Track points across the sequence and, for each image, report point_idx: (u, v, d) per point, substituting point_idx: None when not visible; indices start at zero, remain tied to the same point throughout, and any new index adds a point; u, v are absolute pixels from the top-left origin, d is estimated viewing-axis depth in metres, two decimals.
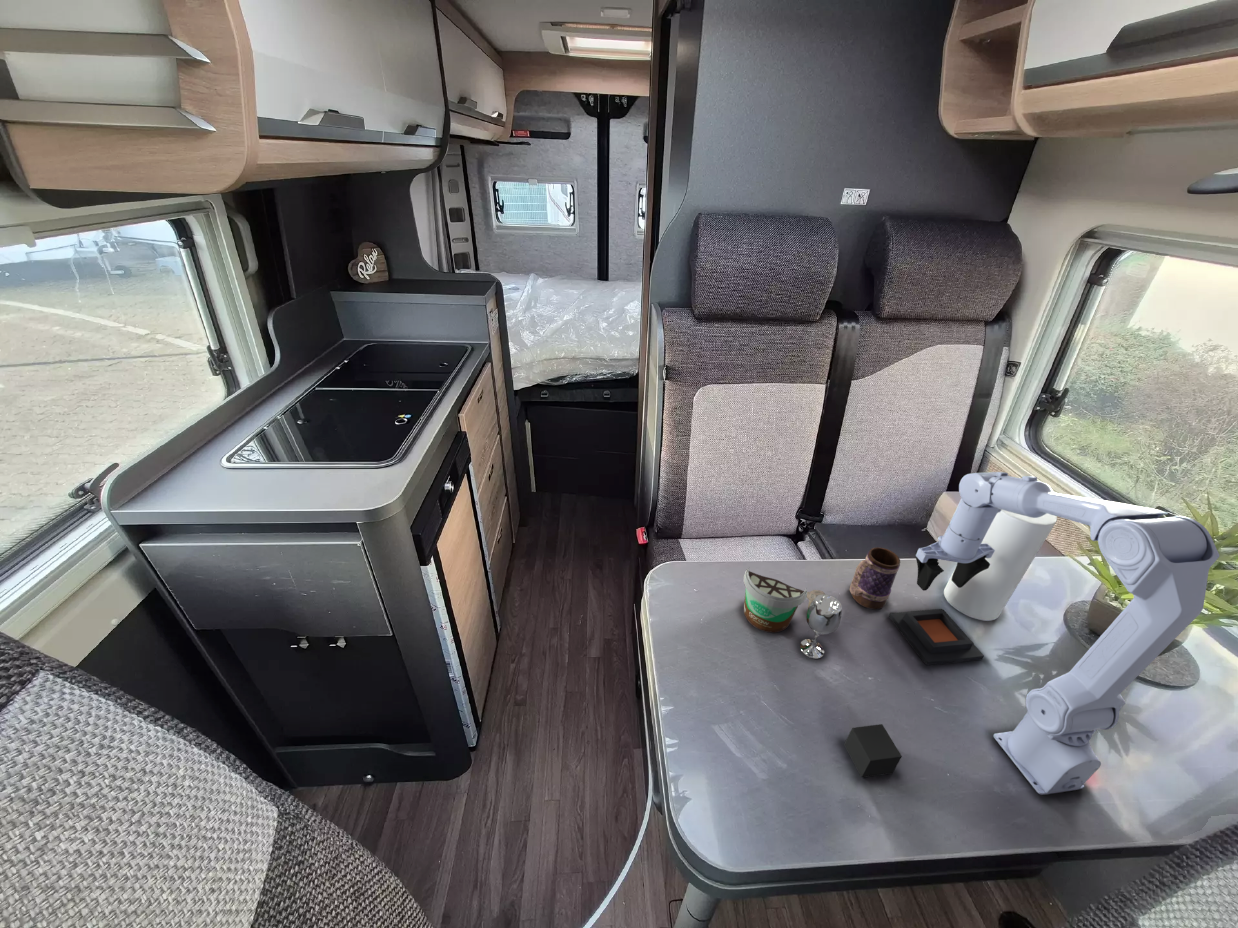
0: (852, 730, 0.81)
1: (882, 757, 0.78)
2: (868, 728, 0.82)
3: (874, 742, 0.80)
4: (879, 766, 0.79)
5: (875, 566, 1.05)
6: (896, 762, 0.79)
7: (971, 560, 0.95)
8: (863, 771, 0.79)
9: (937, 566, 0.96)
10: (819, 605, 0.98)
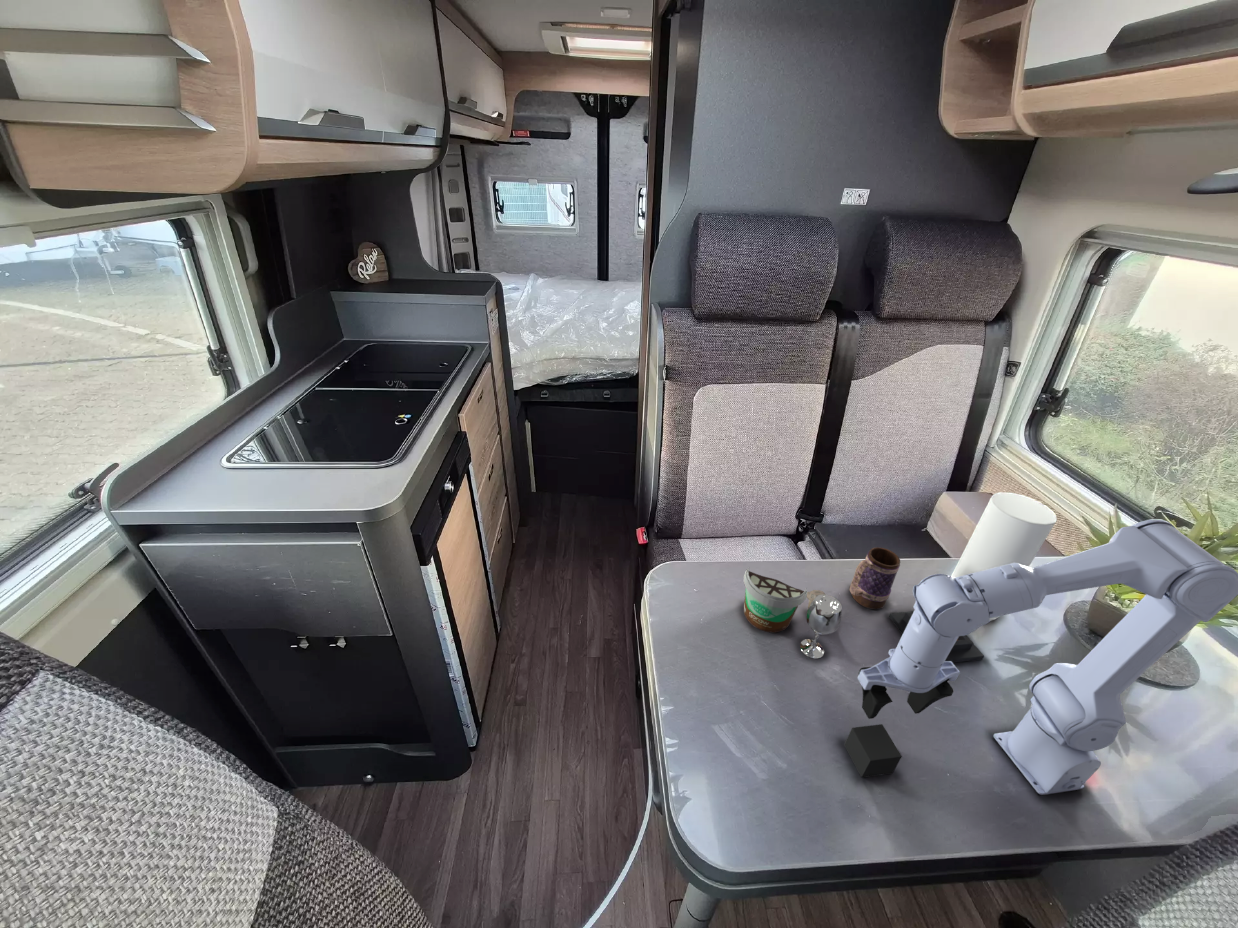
0: (852, 730, 0.81)
1: (882, 757, 0.78)
2: (868, 728, 0.82)
3: (874, 742, 0.80)
4: (879, 766, 0.79)
5: (875, 566, 1.05)
6: (896, 762, 0.79)
7: (928, 689, 0.73)
8: (863, 771, 0.79)
9: (884, 694, 0.74)
10: (819, 605, 0.98)
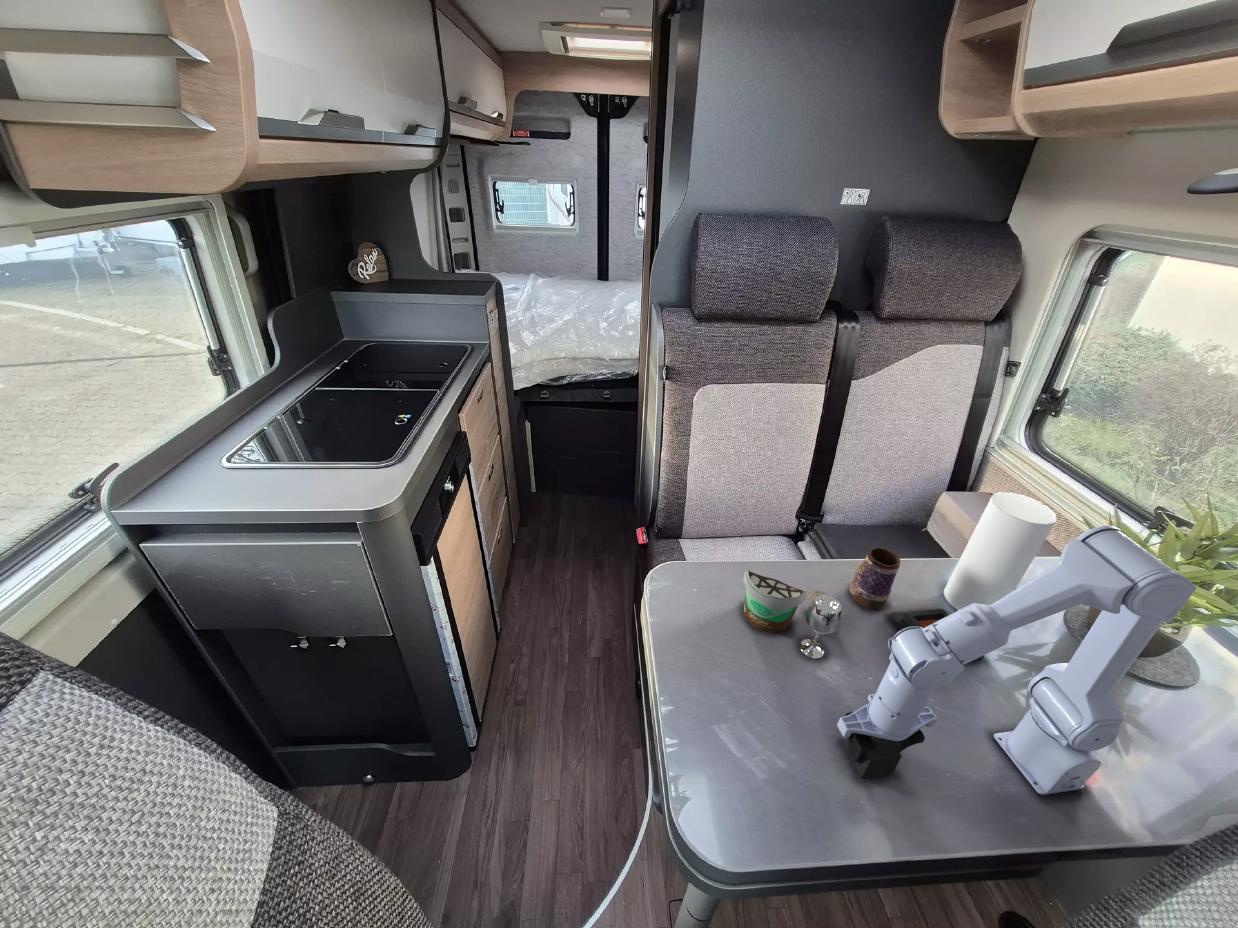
0: None
1: (882, 757, 0.78)
2: None
3: None
4: (879, 767, 0.79)
5: (875, 566, 1.05)
6: (896, 762, 0.79)
7: (905, 737, 0.74)
8: (863, 771, 0.79)
9: (869, 741, 0.76)
10: (819, 605, 0.98)
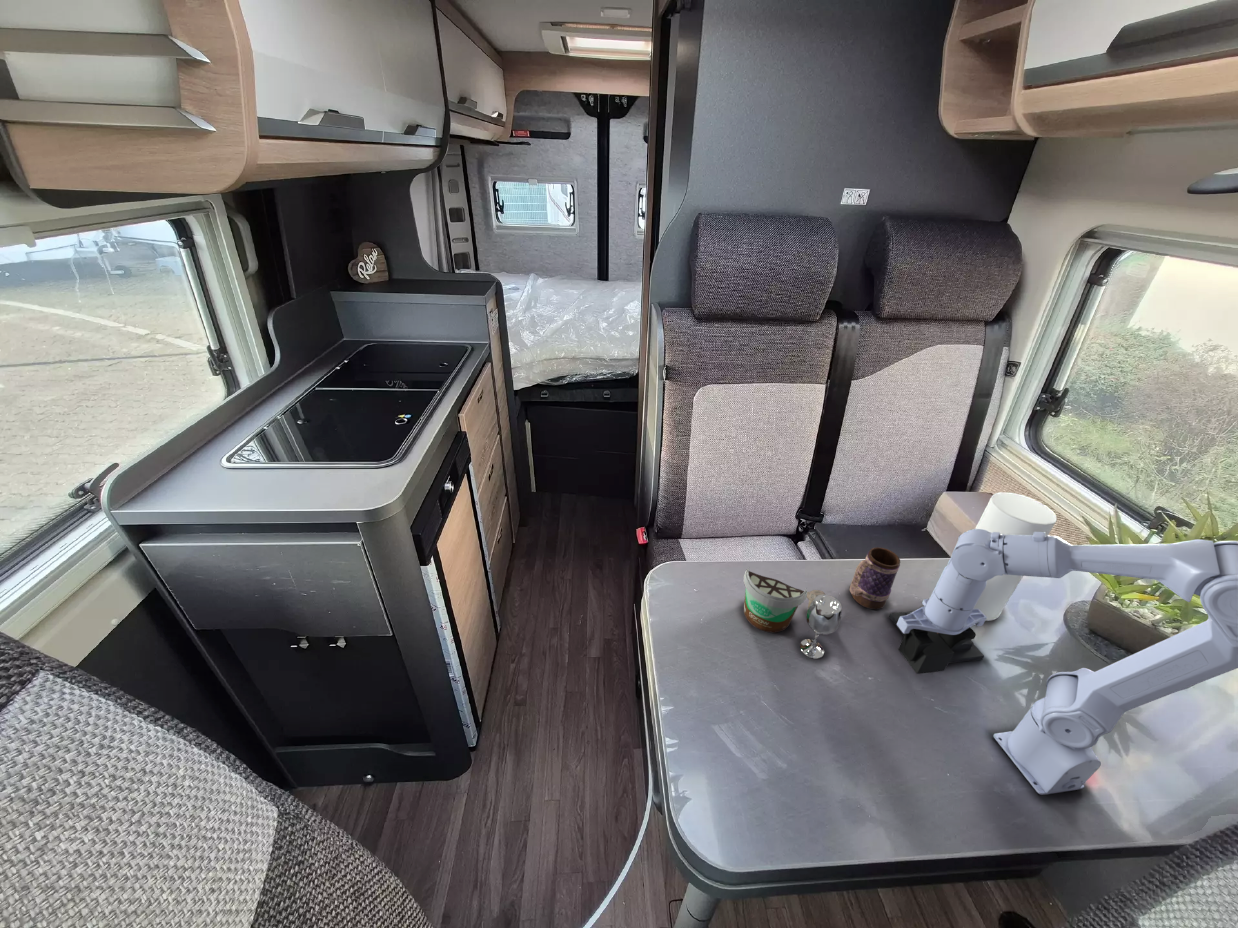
0: None
1: (937, 653, 0.86)
2: None
3: None
4: (933, 663, 0.87)
5: (875, 566, 1.05)
6: (948, 659, 0.87)
7: (960, 631, 0.83)
8: (918, 668, 0.87)
9: (926, 637, 0.84)
10: (819, 605, 0.98)
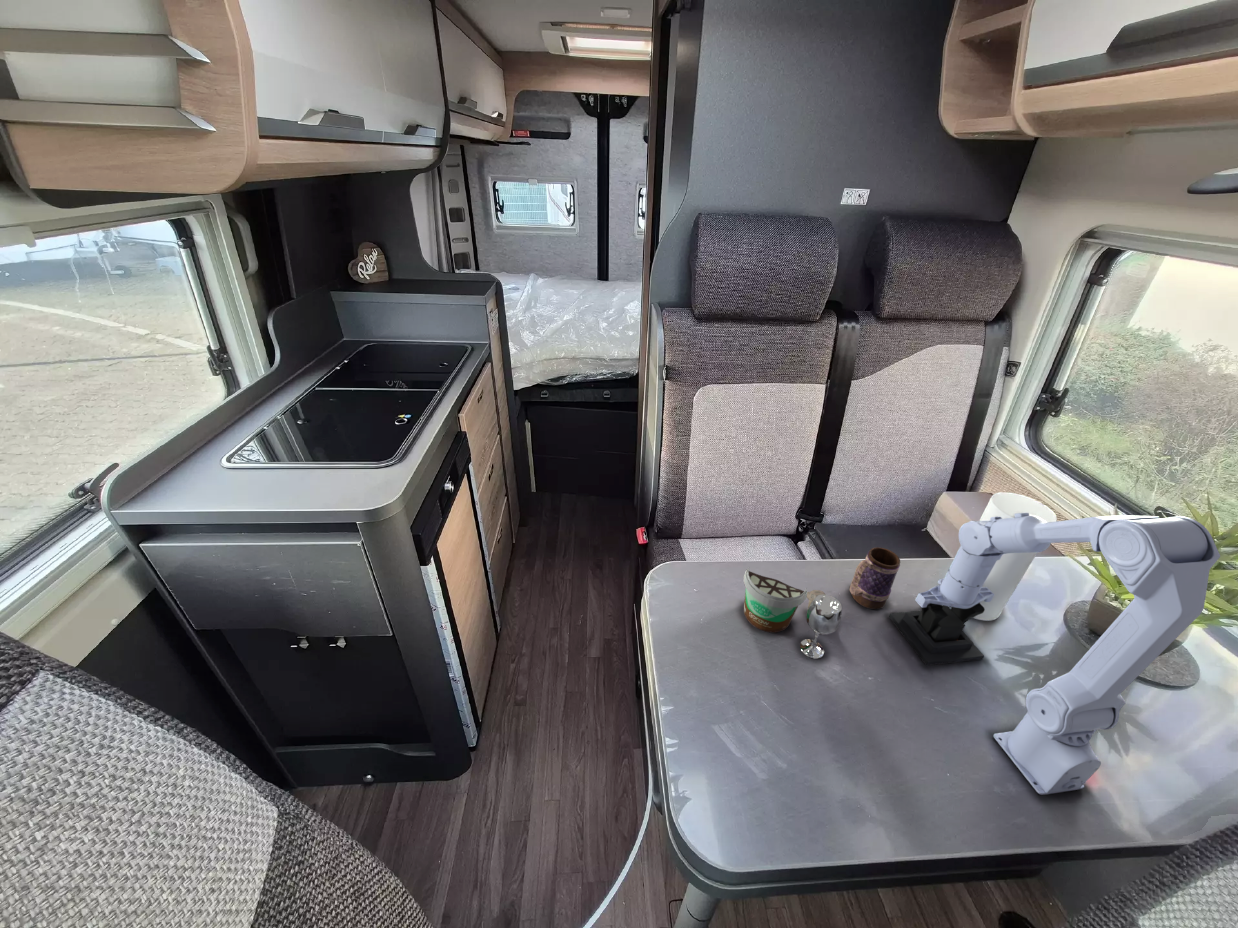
0: None
1: (950, 625, 0.99)
2: None
3: None
4: (947, 634, 1.00)
5: (875, 566, 1.05)
6: (960, 630, 1.00)
7: (970, 605, 0.96)
8: (934, 638, 1.00)
9: (941, 610, 0.97)
10: (819, 605, 0.98)
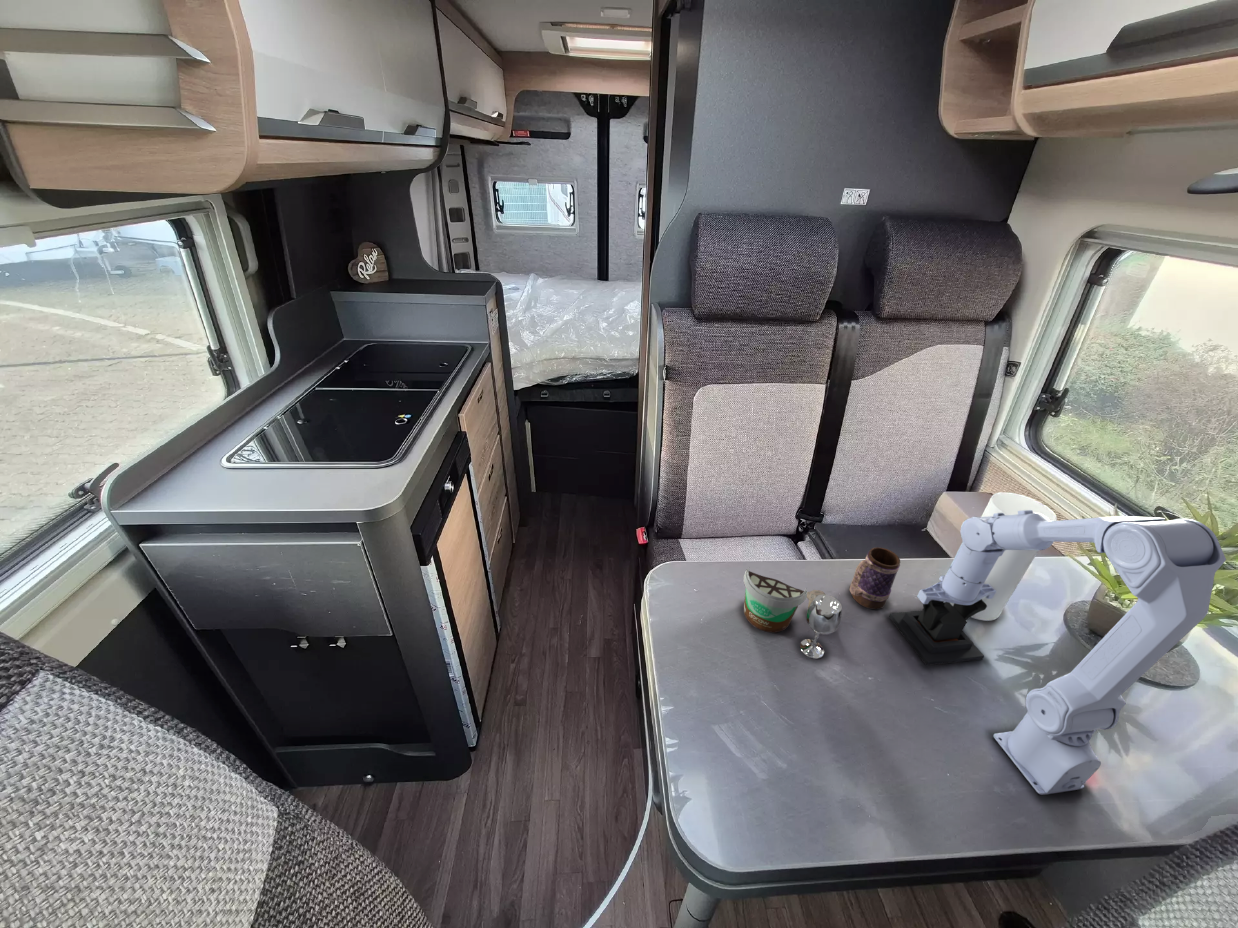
0: None
1: (952, 622, 0.98)
2: None
3: None
4: (948, 631, 0.99)
5: (875, 566, 1.05)
6: (962, 627, 1.00)
7: (972, 602, 0.95)
8: (936, 635, 1.00)
9: (943, 607, 0.97)
10: (819, 605, 0.98)
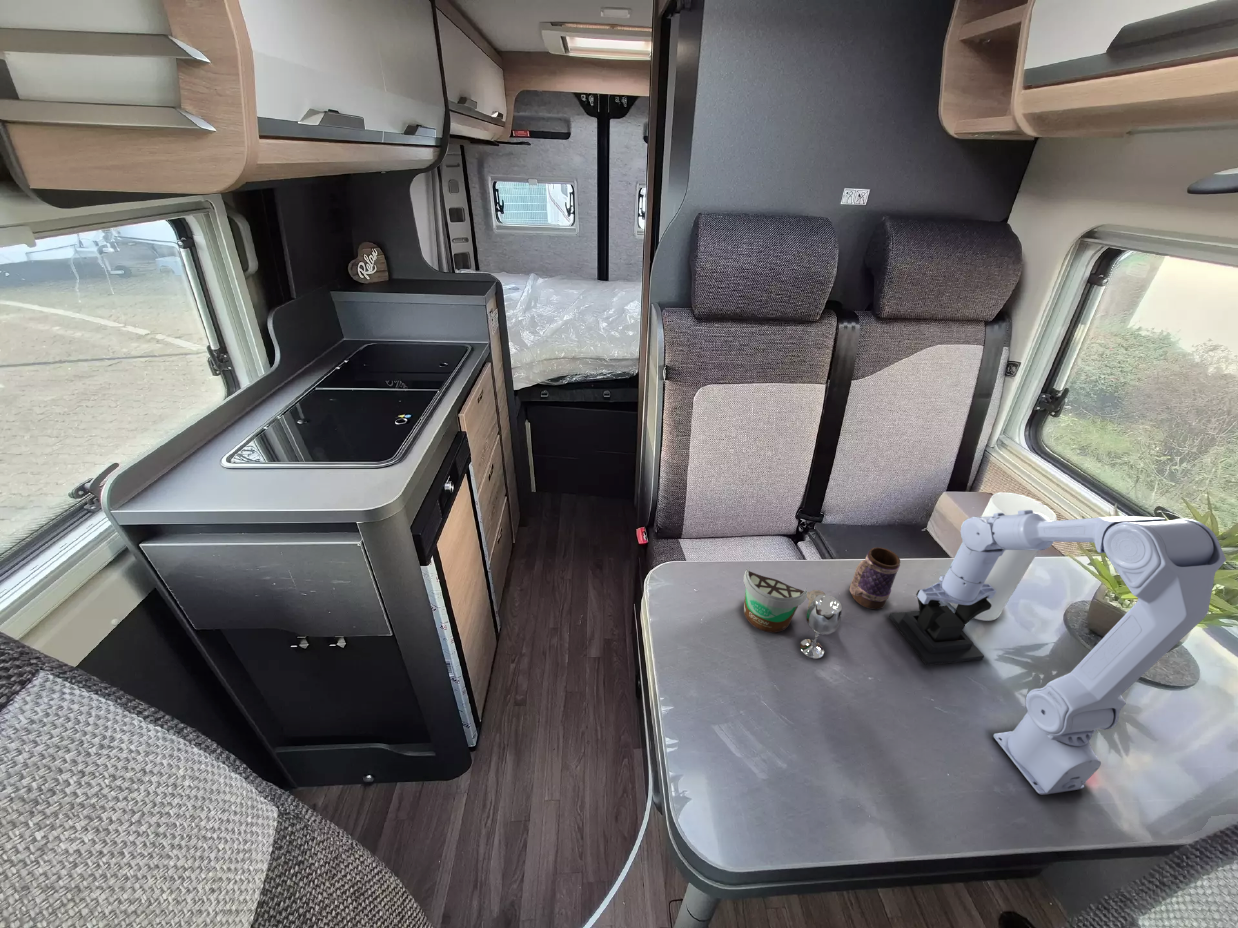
0: None
1: (950, 626, 0.99)
2: None
3: (942, 616, 1.01)
4: (947, 634, 1.00)
5: (875, 566, 1.05)
6: (960, 631, 1.00)
7: (972, 602, 0.95)
8: (934, 638, 1.00)
9: (938, 607, 0.96)
10: (819, 605, 0.98)
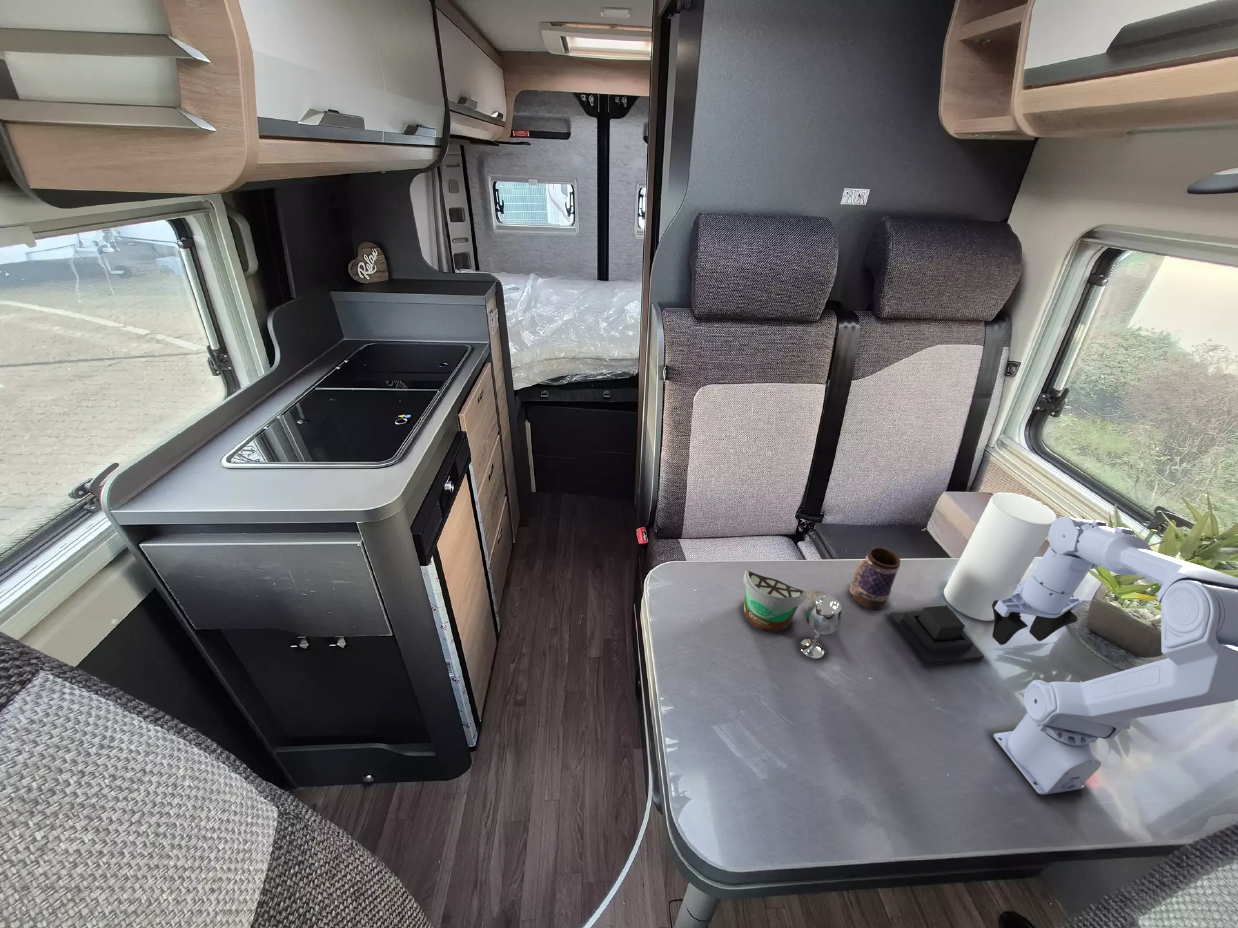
0: (924, 609, 1.03)
1: (950, 626, 0.99)
2: (936, 608, 1.03)
3: (942, 616, 1.01)
4: (947, 634, 1.00)
5: (875, 566, 1.05)
6: (960, 631, 1.00)
7: (1059, 614, 0.86)
8: (934, 638, 1.00)
9: (1020, 620, 0.87)
10: (819, 605, 0.98)
